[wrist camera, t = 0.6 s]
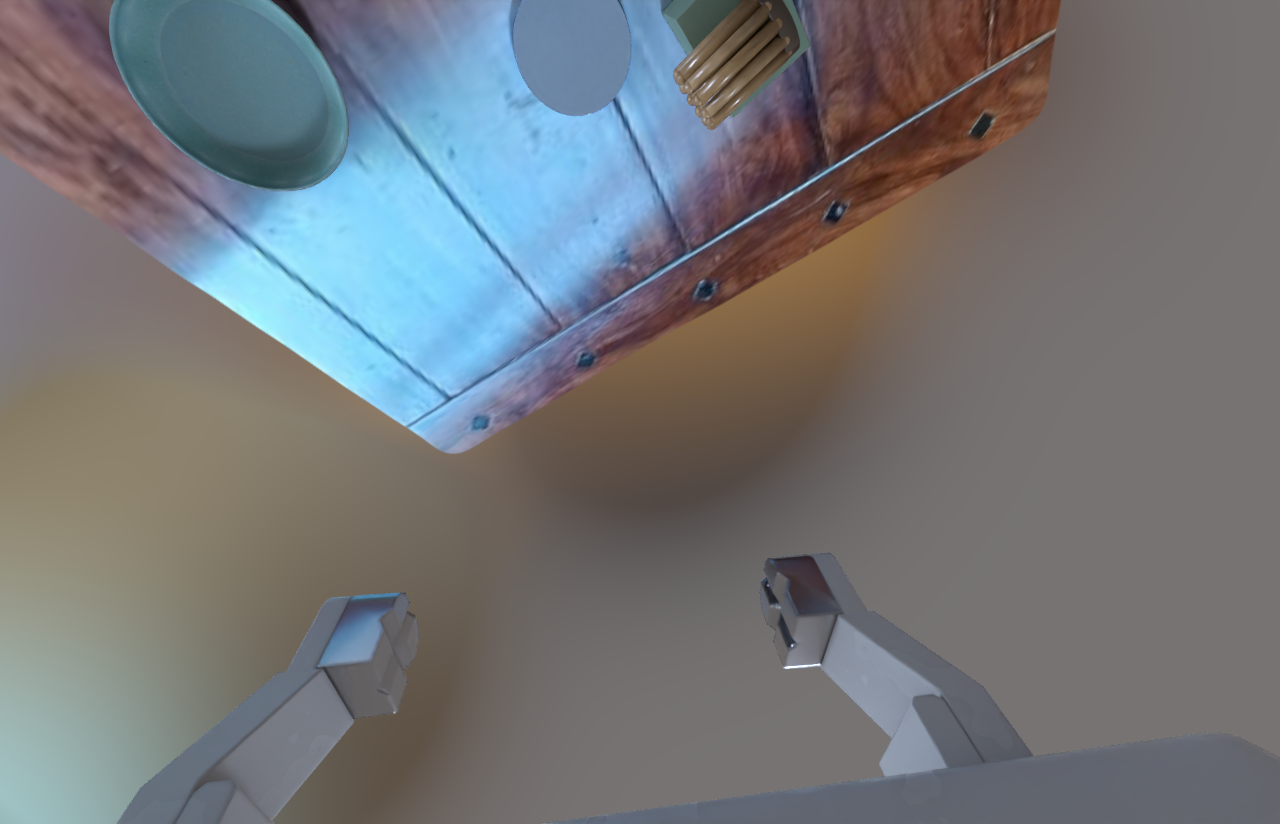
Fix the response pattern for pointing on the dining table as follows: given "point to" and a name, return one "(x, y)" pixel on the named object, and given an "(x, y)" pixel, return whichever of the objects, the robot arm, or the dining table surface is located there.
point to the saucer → (233, 88)
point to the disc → (572, 52)
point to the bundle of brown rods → (737, 58)
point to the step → (701, 10)
